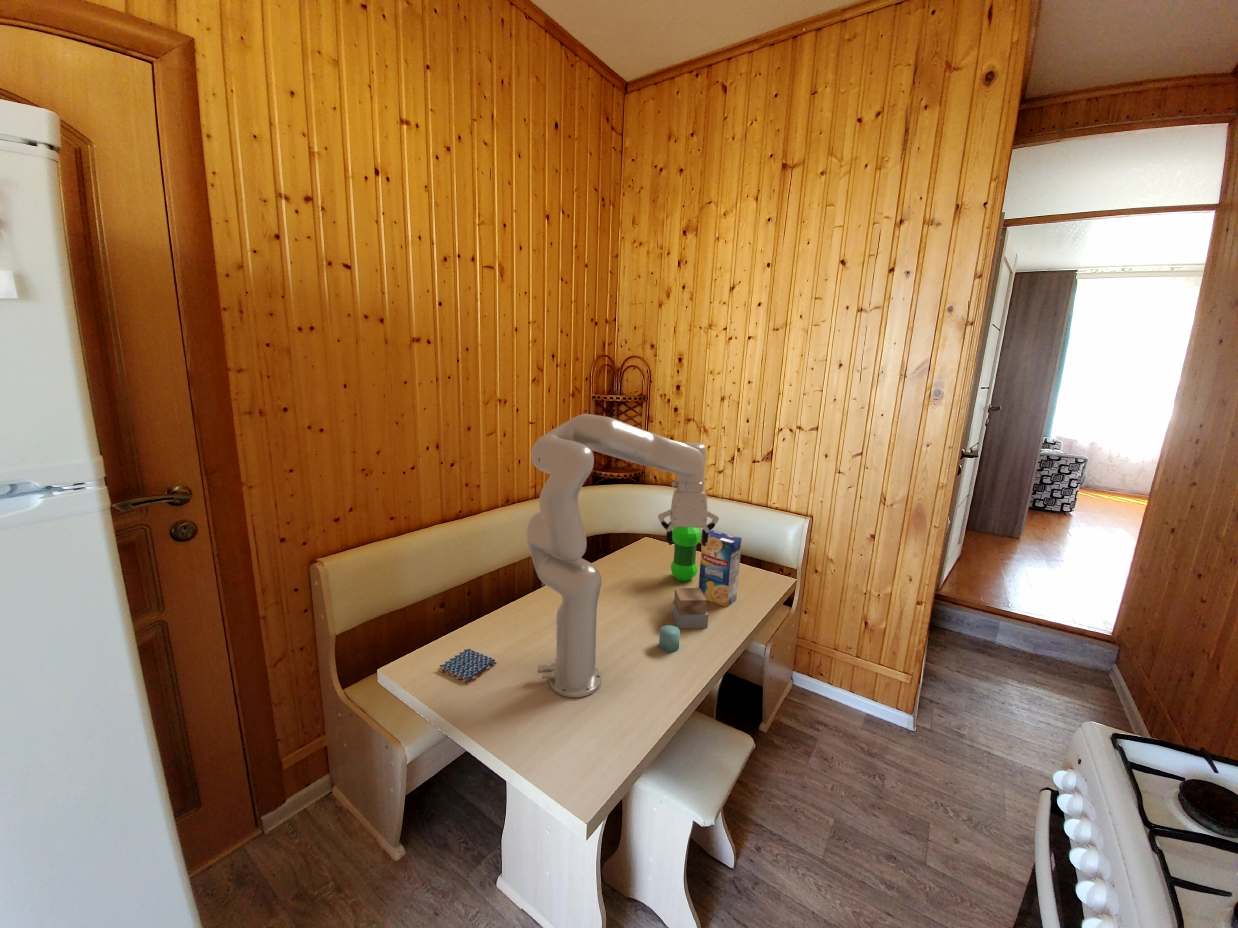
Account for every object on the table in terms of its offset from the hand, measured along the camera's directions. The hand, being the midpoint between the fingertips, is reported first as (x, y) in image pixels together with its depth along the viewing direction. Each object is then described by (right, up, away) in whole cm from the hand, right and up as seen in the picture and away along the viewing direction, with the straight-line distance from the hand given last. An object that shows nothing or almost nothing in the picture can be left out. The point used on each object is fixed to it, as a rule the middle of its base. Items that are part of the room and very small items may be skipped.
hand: (686, 543), depth 142 cm
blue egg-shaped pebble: (-6, -28, -5) cm, 29 cm away
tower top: (+2, -21, +9) cm, 23 cm away
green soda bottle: (+4, -19, +39) cm, 44 cm away
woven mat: (-58, -29, -17) cm, 67 cm away
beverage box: (+14, -23, +24) cm, 36 cm away
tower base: (+2, -25, +10) cm, 27 cm away
